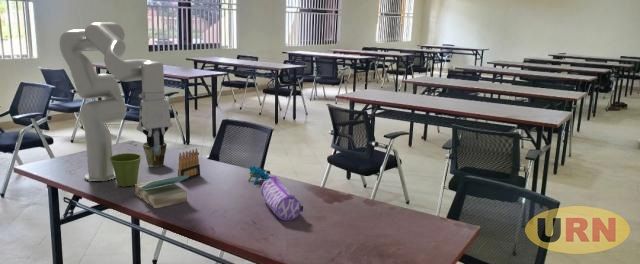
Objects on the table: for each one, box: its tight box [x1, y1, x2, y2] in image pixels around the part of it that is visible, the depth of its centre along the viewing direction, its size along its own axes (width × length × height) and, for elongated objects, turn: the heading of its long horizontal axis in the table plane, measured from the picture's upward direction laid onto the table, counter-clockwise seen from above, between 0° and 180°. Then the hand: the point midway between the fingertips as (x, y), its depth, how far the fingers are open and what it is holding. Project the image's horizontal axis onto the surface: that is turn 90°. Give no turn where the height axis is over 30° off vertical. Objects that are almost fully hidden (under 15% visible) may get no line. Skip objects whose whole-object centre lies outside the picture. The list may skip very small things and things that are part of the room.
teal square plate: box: [141, 175, 189, 190], centre depth 189 cm, size 12×13×1 cm
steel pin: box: [151, 128, 161, 155], centre depth 193 cm, size 3×3×10 cm
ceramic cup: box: [142, 141, 168, 168], centre depth 231 cm, size 13×10×10 cm
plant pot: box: [110, 152, 143, 188], centre depth 206 cm, size 12×12×11 cm
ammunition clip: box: [177, 148, 201, 183], centre depth 216 cm, size 11×2×12 cm, turn 147°
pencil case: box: [260, 175, 304, 221], centre depth 183 cm, size 22×9×10 cm, turn 24°
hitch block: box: [134, 178, 188, 209], centre depth 193 cm, size 18×12×4 cm, turn 40°
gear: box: [247, 165, 271, 185], centre depth 213 cm, size 11×6×10 cm
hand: (155, 145), depth 193 cm, fingers closed on steel pin, 3 cm apart
